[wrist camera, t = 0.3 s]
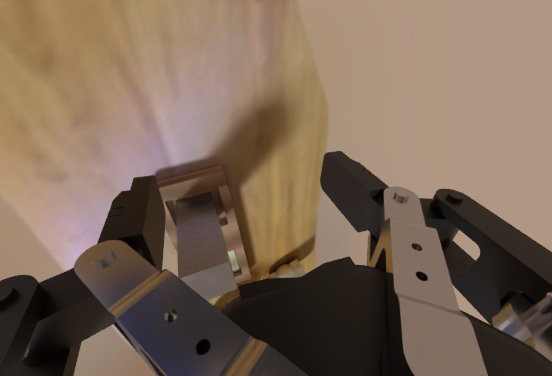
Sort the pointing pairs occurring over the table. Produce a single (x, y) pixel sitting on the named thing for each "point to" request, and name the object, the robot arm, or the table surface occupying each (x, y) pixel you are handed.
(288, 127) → the table surface
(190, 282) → the metal block
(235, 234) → the tray
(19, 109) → the table surface
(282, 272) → the valve
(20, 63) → the table surface
